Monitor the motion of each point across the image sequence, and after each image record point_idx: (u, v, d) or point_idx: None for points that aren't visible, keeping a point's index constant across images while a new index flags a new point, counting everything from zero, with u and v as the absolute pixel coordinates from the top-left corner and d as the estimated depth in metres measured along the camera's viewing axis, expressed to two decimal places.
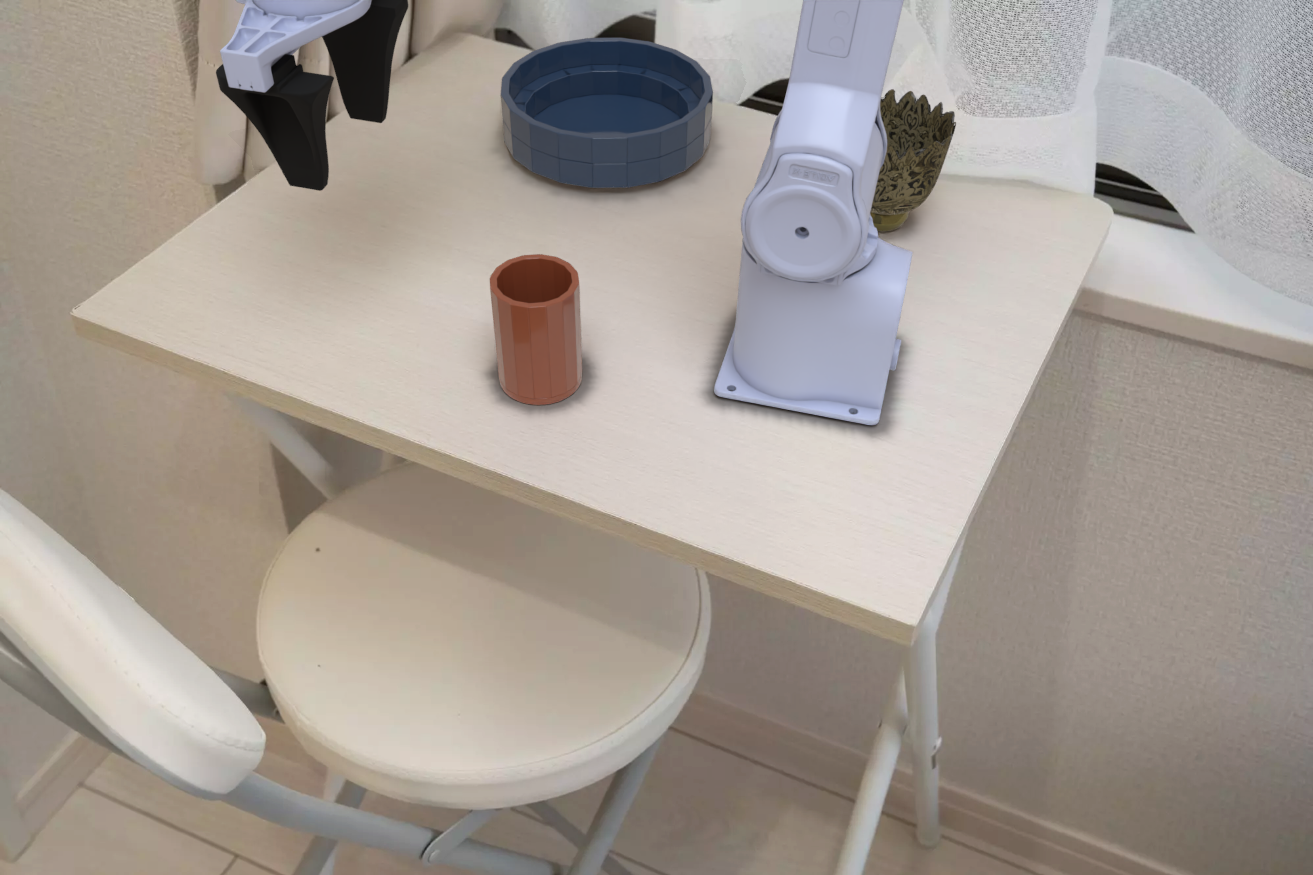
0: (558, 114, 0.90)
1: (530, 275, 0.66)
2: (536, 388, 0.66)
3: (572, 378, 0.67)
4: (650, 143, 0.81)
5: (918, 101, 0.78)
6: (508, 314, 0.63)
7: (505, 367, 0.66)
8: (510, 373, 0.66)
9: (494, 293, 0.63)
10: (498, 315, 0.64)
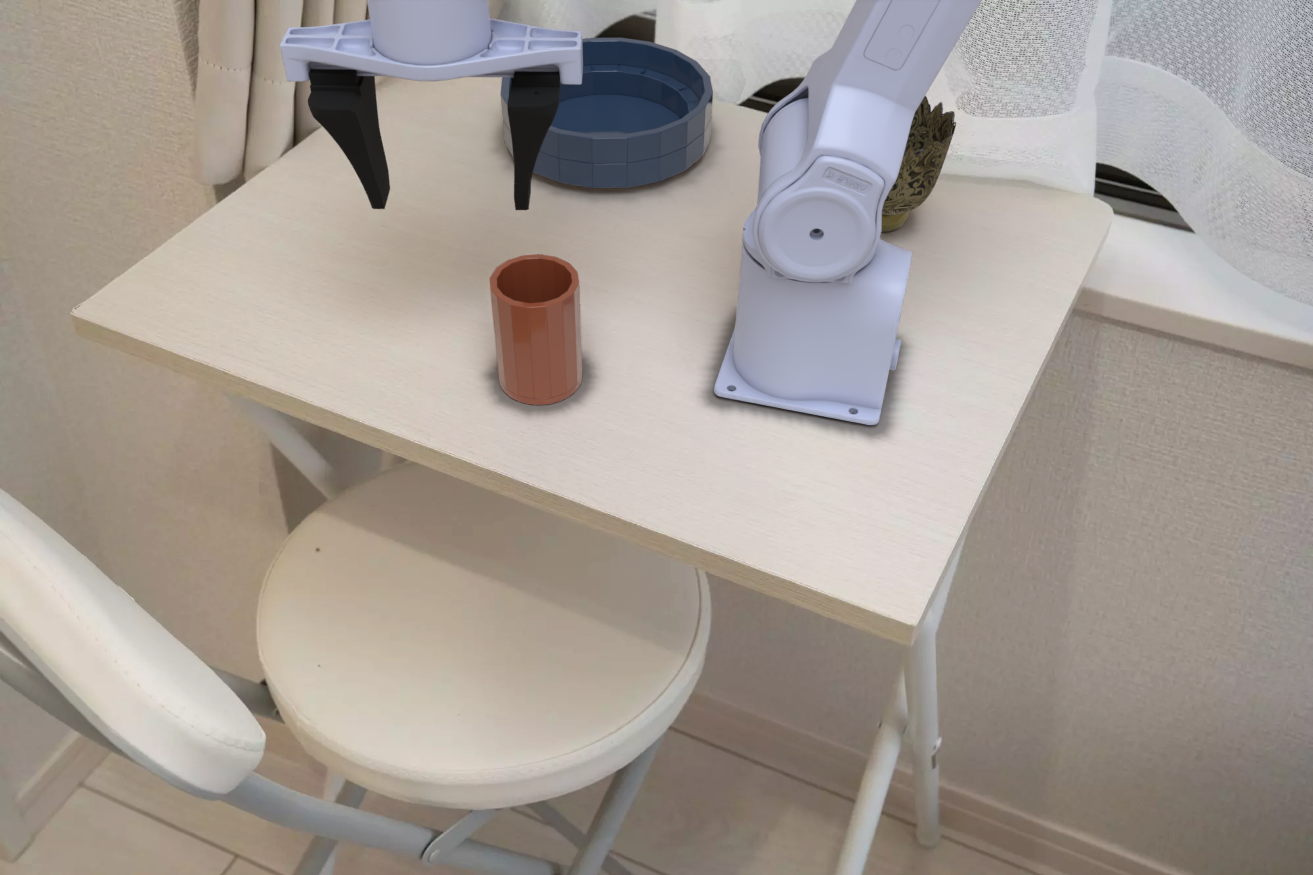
0: (558, 114, 0.90)
1: (530, 275, 0.66)
2: (536, 388, 0.66)
3: (572, 378, 0.67)
4: (650, 143, 0.81)
5: None
6: (508, 314, 0.63)
7: (505, 367, 0.66)
8: (510, 373, 0.66)
9: (494, 293, 0.63)
10: (498, 315, 0.64)
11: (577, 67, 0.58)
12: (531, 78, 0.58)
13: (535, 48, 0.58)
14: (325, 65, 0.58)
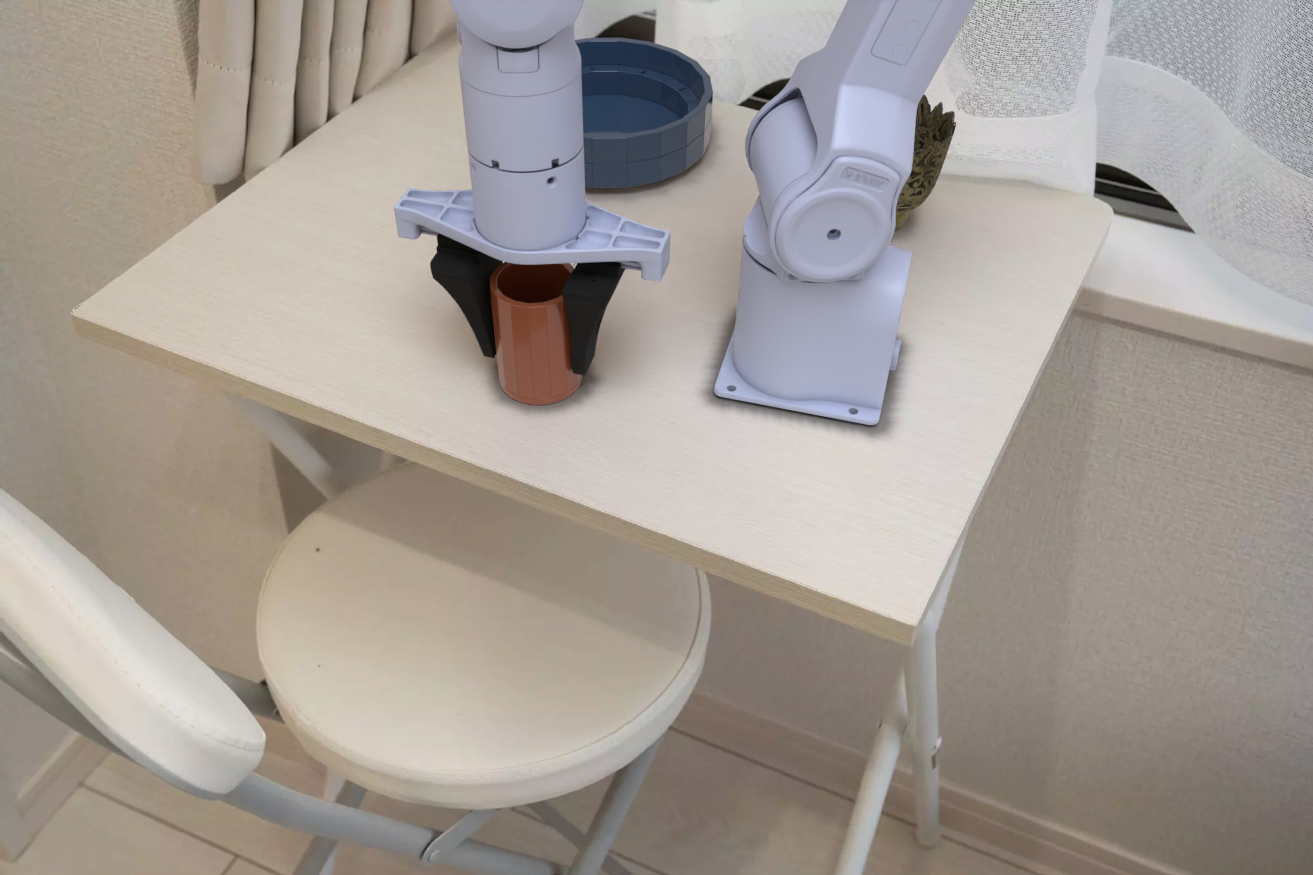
0: None
1: (530, 275, 0.66)
2: (536, 388, 0.66)
3: (572, 378, 0.67)
4: (650, 143, 0.81)
5: None
6: (508, 314, 0.63)
7: (505, 367, 0.66)
8: (510, 373, 0.66)
9: (494, 293, 0.63)
10: (498, 315, 0.64)
11: (657, 267, 0.60)
12: (593, 265, 0.61)
13: (622, 243, 0.60)
14: None
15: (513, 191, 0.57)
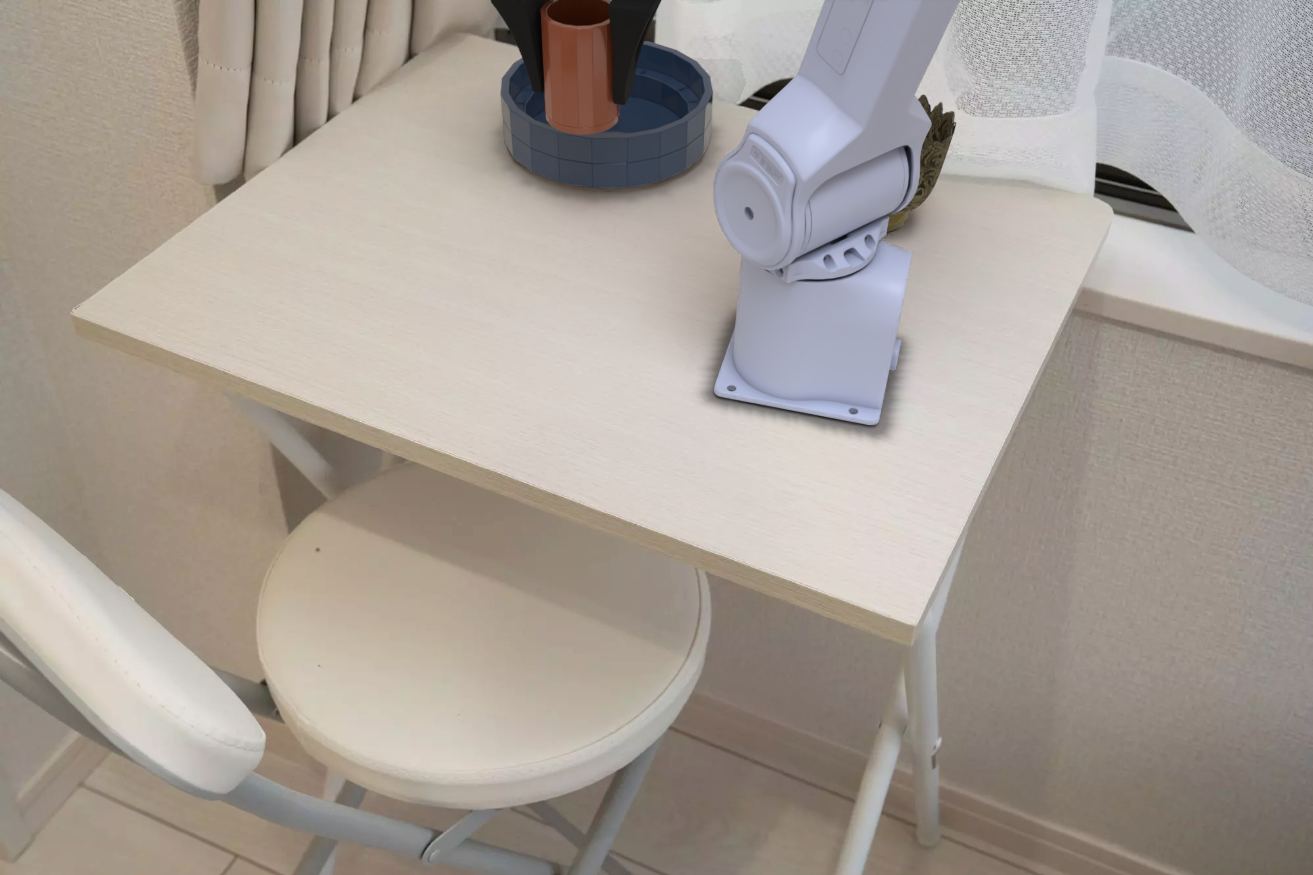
0: None
1: (575, 15, 0.74)
2: (580, 116, 0.74)
3: (612, 110, 0.74)
4: (650, 143, 0.81)
5: None
6: (557, 38, 0.70)
7: (552, 97, 0.73)
8: (557, 102, 0.73)
9: (545, 19, 0.70)
10: (548, 41, 0.71)
11: None
12: None
13: None
14: None
15: None
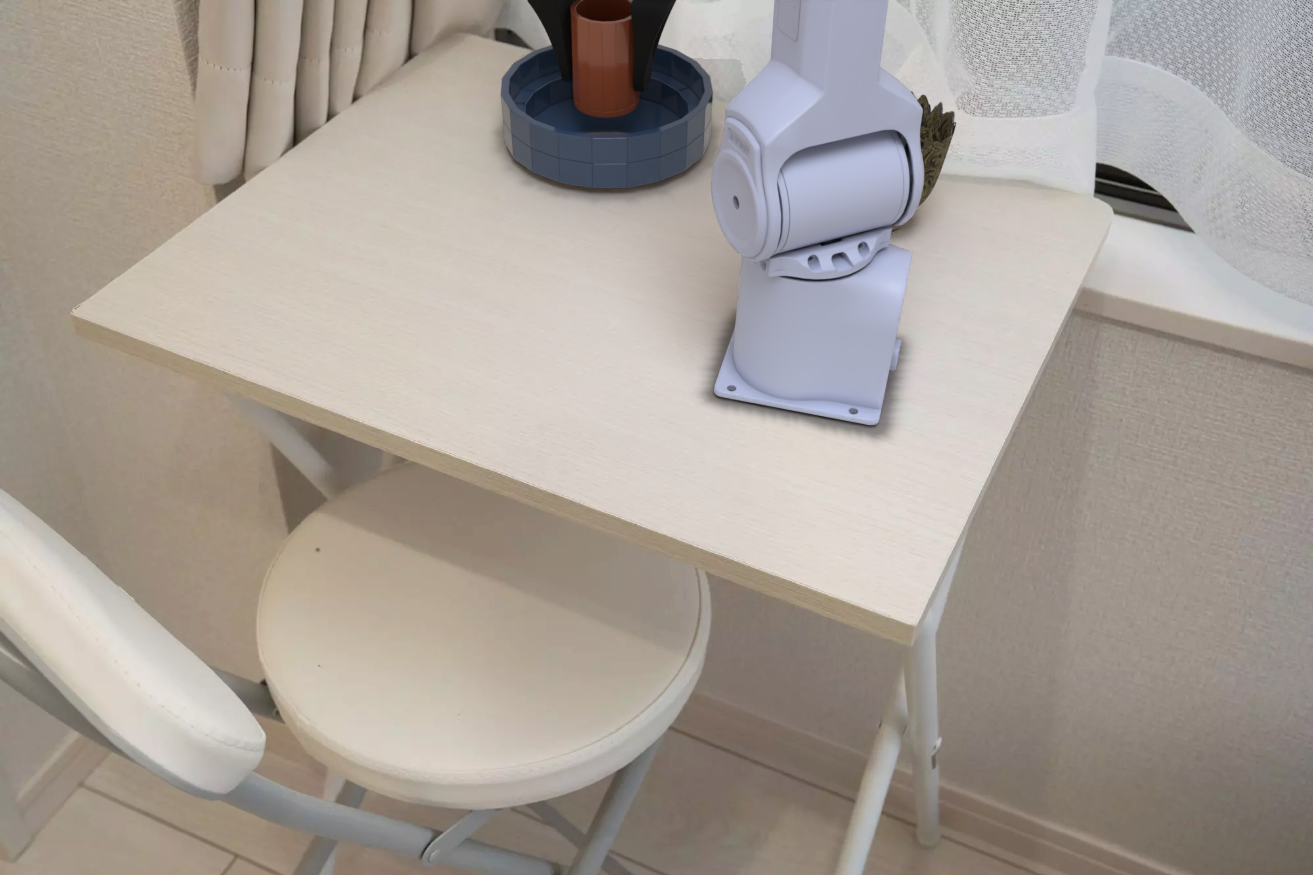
0: (558, 114, 0.90)
1: (600, 12, 0.83)
2: (604, 101, 0.83)
3: (632, 96, 0.84)
4: (650, 143, 0.81)
5: (918, 101, 0.78)
6: (585, 32, 0.80)
7: (580, 84, 0.83)
8: (584, 89, 0.83)
9: (574, 16, 0.80)
10: (577, 35, 0.81)
11: None
12: None
13: None
14: None
15: None
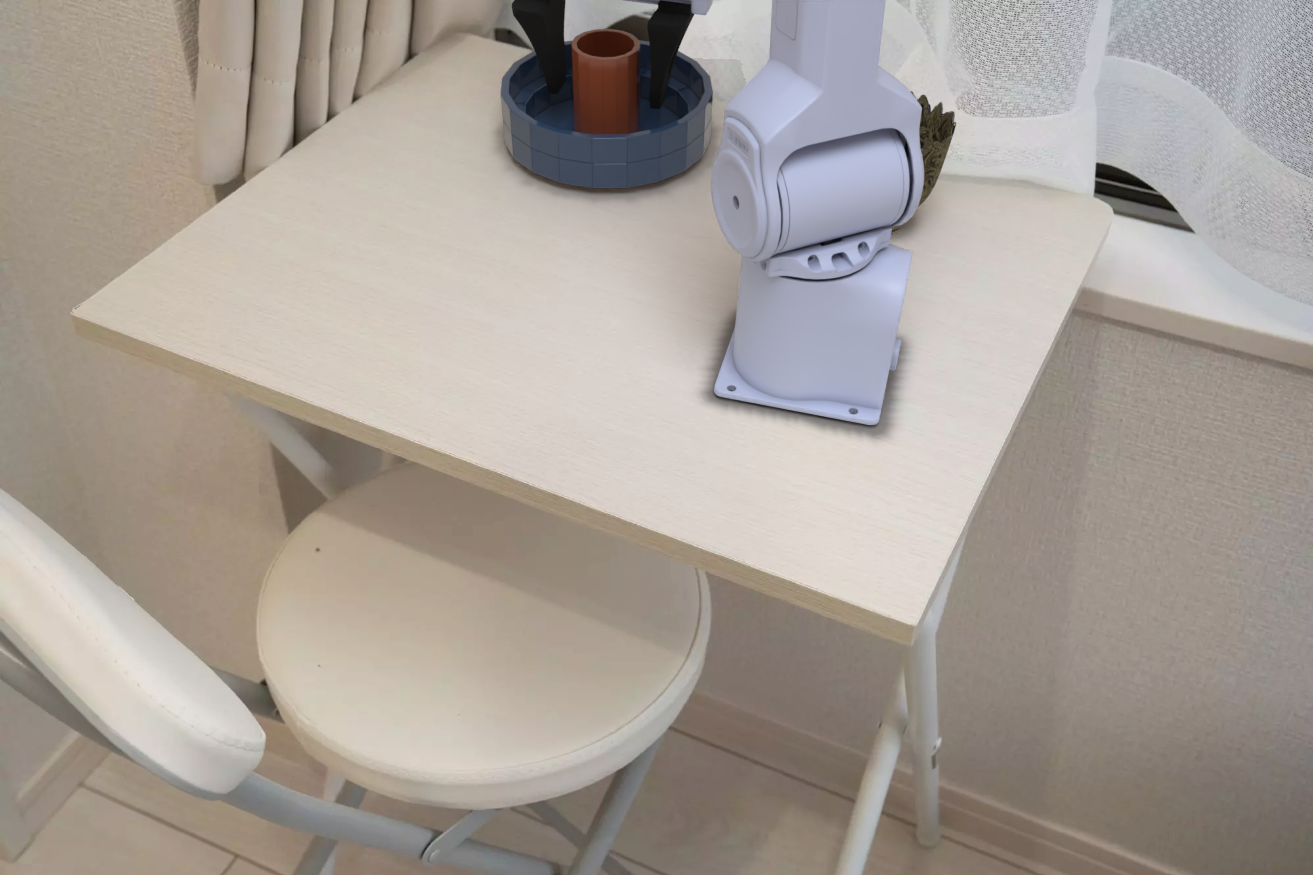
0: (558, 114, 0.90)
1: (600, 46, 0.85)
2: None
3: (632, 128, 0.86)
4: (650, 143, 0.81)
5: (918, 101, 0.78)
6: (586, 67, 0.82)
7: (581, 117, 0.85)
8: (585, 122, 0.85)
9: (575, 51, 0.82)
10: (578, 70, 0.83)
11: (703, 1, 0.78)
12: (670, 6, 0.79)
13: None
14: None
15: None
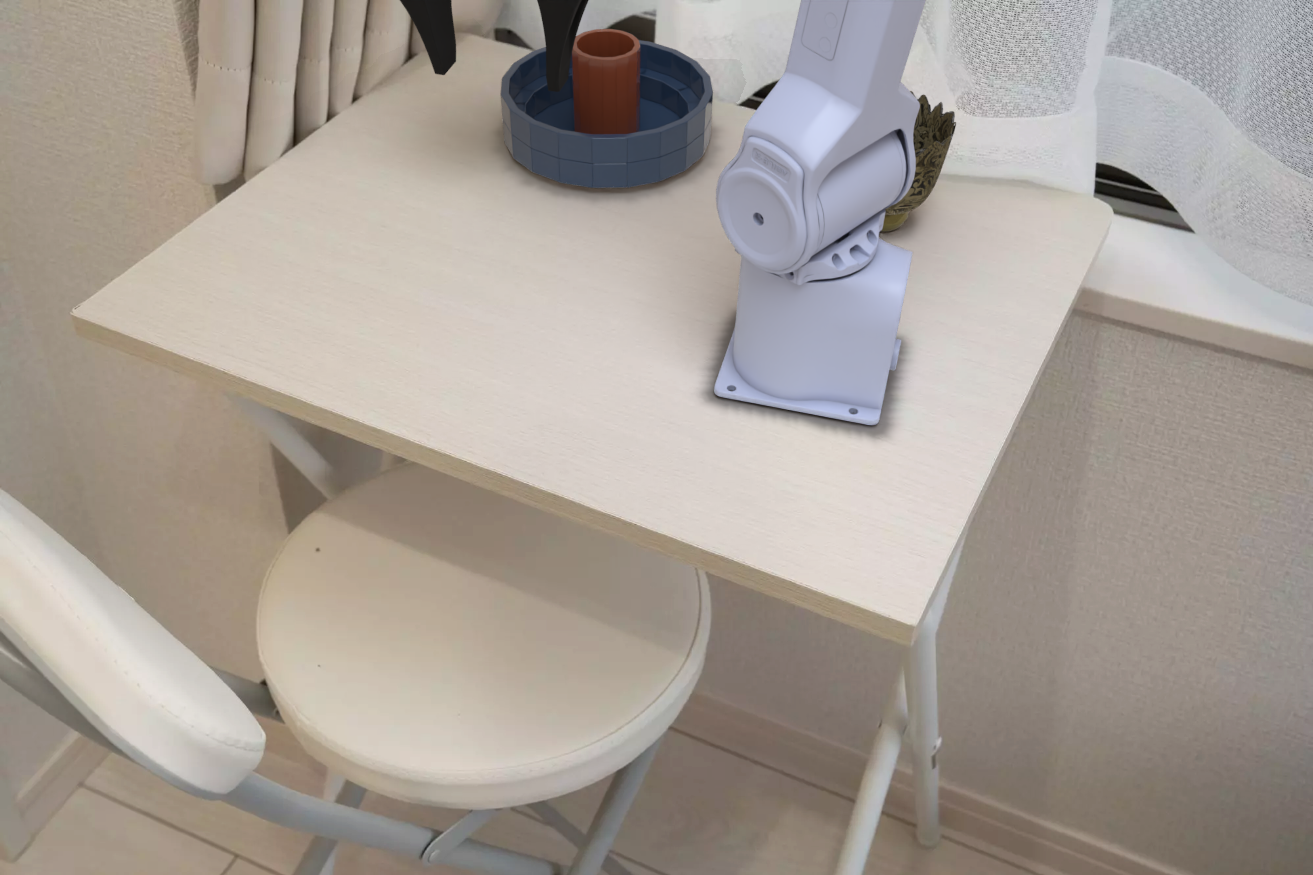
0: (558, 114, 0.90)
1: (600, 46, 0.85)
2: None
3: (632, 128, 0.86)
4: (650, 143, 0.81)
5: (918, 101, 0.78)
6: (586, 67, 0.82)
7: (581, 117, 0.85)
8: (585, 122, 0.85)
9: (575, 51, 0.82)
10: (578, 70, 0.83)
11: None
12: None
13: None
14: None
15: None
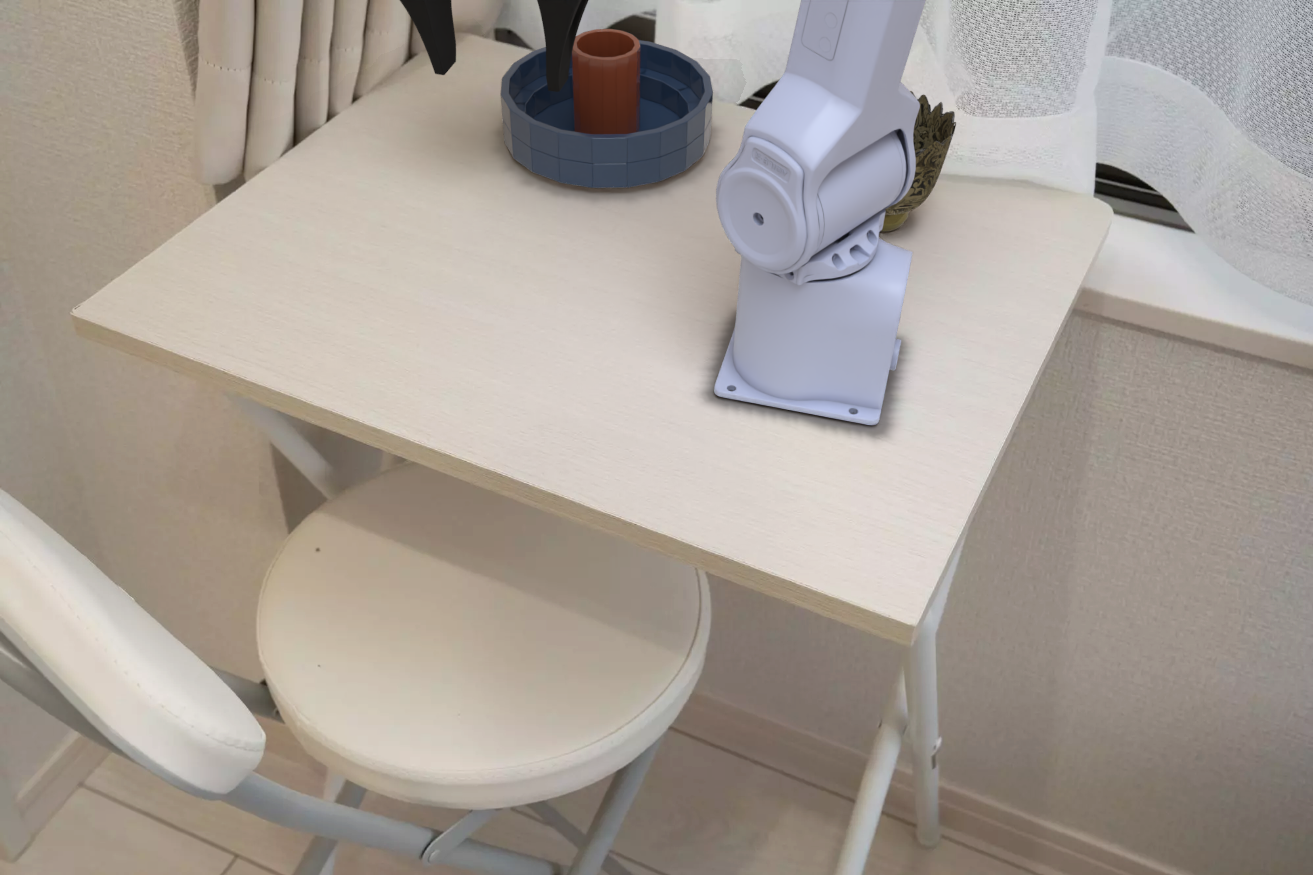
0: (558, 114, 0.90)
1: (600, 46, 0.85)
2: None
3: (632, 128, 0.86)
4: (650, 143, 0.81)
5: (918, 101, 0.78)
6: (586, 67, 0.82)
7: (581, 117, 0.85)
8: (585, 122, 0.85)
9: (575, 51, 0.82)
10: (578, 70, 0.83)
11: None
12: None
13: None
14: None
15: None
